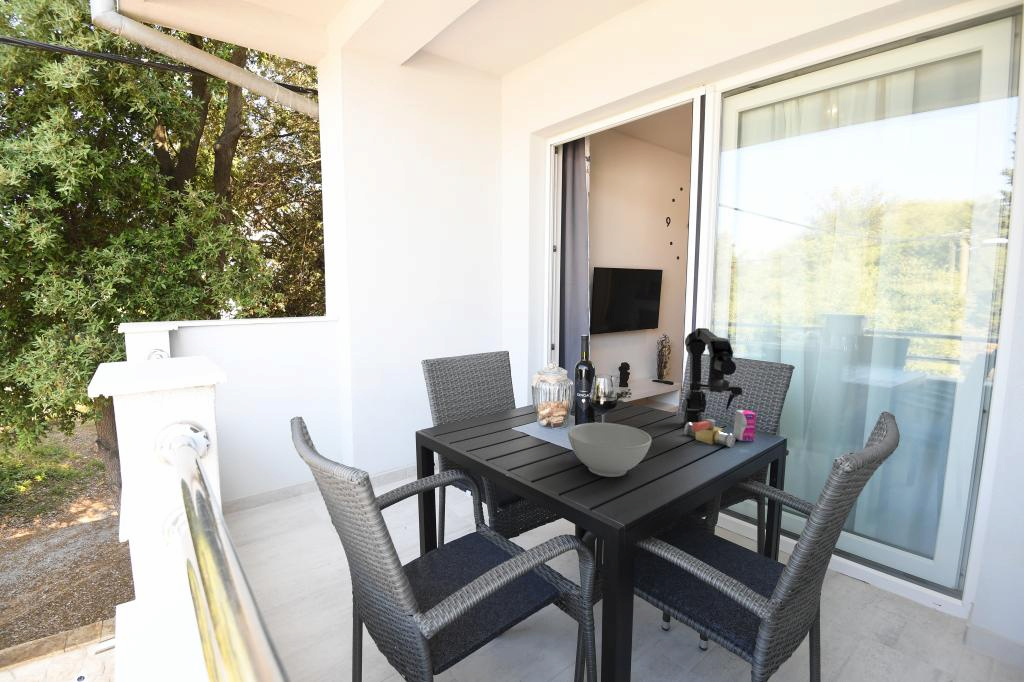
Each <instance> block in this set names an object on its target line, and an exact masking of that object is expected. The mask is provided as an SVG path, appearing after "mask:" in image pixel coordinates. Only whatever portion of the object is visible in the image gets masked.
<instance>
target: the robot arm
mask: <svg viewBox="0 0 1024 682" xmlns="http://www.w3.org/2000/svg"><path fill="white" fill-rule="evenodd" d="M684 346H685V350H686V352H687V353H688V356H689V389H688V390H687V392H686V394H685V398H684V400H683V402H682V404H681V410H682V411H683V412H684V415H683V416H684V417H683V422H681V424H682V425H684V426H685V425H686V423H688V422H692V423H693V422H696V423H698V422H702V419H703V415H702V413H705V411H706V407H707V403H708V402H707V399H706V393H705V392H703V390H709V392H710V393H719V394H721V393H723V392H728V395H727V401H726V405H725V411H727V412H728V409H729V407H730V406H731V403H732V401H733V400H734V398H735V397H736V398H737V397H739V396H742V395H743V387H742V386H741V385H740V384H739V385H738V384H730V380H728V379H725V375H726V376H731V375H732V374H734V373H735V372H736V370H737V365H736V363H735V362H734V361H733V360H732V358H733V357H734V351H733V347H732V345H731V342H730V340H729V339H727V338H725V337H721V336H717V335H716V334H715V333H713V332H712V331H710V329H708V328H706V327H705V328H704V327H703V328H701V327H697V328H695V330H694V331H692V332H690V333H689V334H687V336H686V337H685V341H684ZM706 346H707V347H706ZM706 348H707V350H708V353H709V355H708V357H709V365H708V366H709V367H708V378H707V380H708V381H707V384H706V383H704V384H703V383H702V356H703V354H704V353H705V351H706Z"/></svg>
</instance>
